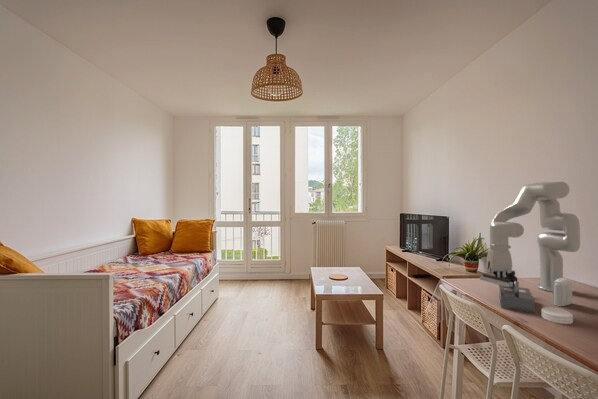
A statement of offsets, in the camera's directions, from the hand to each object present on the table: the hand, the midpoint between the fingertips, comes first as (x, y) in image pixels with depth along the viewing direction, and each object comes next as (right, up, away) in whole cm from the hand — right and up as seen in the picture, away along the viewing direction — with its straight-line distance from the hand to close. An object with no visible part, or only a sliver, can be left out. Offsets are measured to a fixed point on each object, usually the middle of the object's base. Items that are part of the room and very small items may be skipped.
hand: (499, 284), depth 142 cm
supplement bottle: (+13, -8, +11) cm, 19 cm away
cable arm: (-3, +1, -2) cm, 4 cm away
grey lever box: (+4, -8, -5) cm, 10 cm away
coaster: (+8, -8, -22) cm, 25 cm away
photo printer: (+26, -8, -6) cm, 28 cm away
